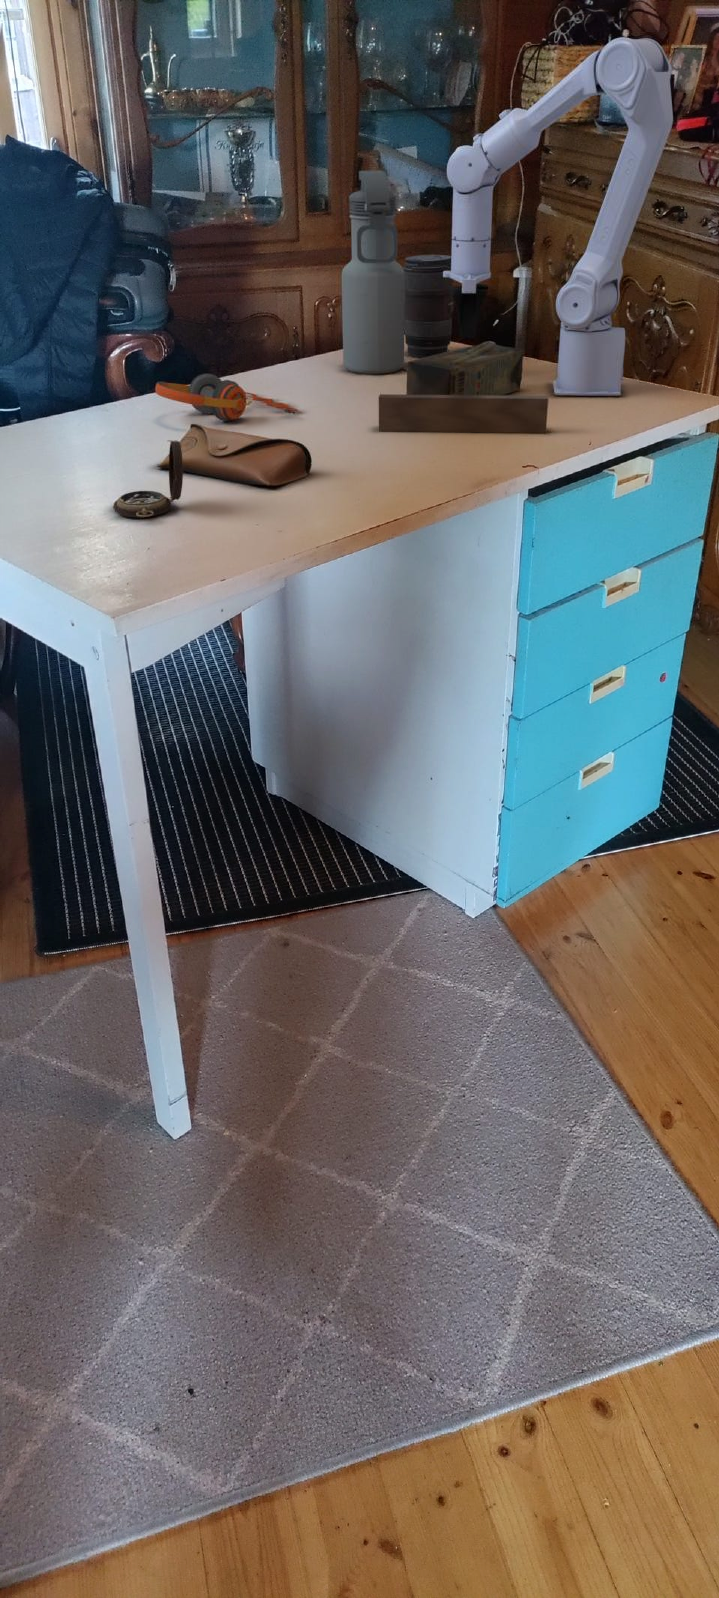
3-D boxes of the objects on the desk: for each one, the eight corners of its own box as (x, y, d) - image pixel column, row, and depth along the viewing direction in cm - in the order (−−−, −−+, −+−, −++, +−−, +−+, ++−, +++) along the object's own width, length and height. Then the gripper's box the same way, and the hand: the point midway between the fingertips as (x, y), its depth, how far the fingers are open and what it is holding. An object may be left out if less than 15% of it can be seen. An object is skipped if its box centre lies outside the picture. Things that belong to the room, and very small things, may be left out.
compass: (112, 504, 132) (104, 438, 128) (183, 498, 134) (177, 433, 130) (116, 527, 125) (107, 457, 122) (191, 520, 127) (185, 452, 123)
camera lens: (427, 347, 205) (428, 252, 197) (461, 353, 200) (464, 256, 192) (393, 354, 200) (393, 257, 193) (427, 361, 195) (428, 261, 187)
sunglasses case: (150, 465, 143) (163, 410, 143) (184, 482, 149) (197, 429, 149) (273, 487, 135) (287, 429, 135) (303, 503, 141) (317, 448, 141)
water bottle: (409, 374, 187) (411, 173, 172) (347, 376, 186) (344, 175, 171) (398, 361, 195) (399, 168, 181) (339, 363, 194) (335, 170, 180)
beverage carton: (524, 390, 176) (527, 343, 173) (448, 416, 164) (449, 366, 160) (480, 383, 181) (481, 337, 177) (402, 408, 168) (403, 359, 165)
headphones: (249, 411, 178) (130, 400, 165) (254, 374, 176) (133, 360, 163) (314, 434, 166) (191, 424, 154) (321, 395, 164) (196, 381, 152)
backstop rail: (545, 430, 157) (547, 395, 155) (545, 433, 156) (548, 398, 153) (379, 428, 159) (379, 394, 157) (378, 431, 158) (378, 397, 155)
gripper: (445, 233, 180) (443, 328, 188) (442, 245, 168) (439, 346, 175) (492, 233, 180) (488, 328, 187) (492, 245, 168) (487, 346, 175)
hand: (468, 337), depth 181 cm, fingers closed
